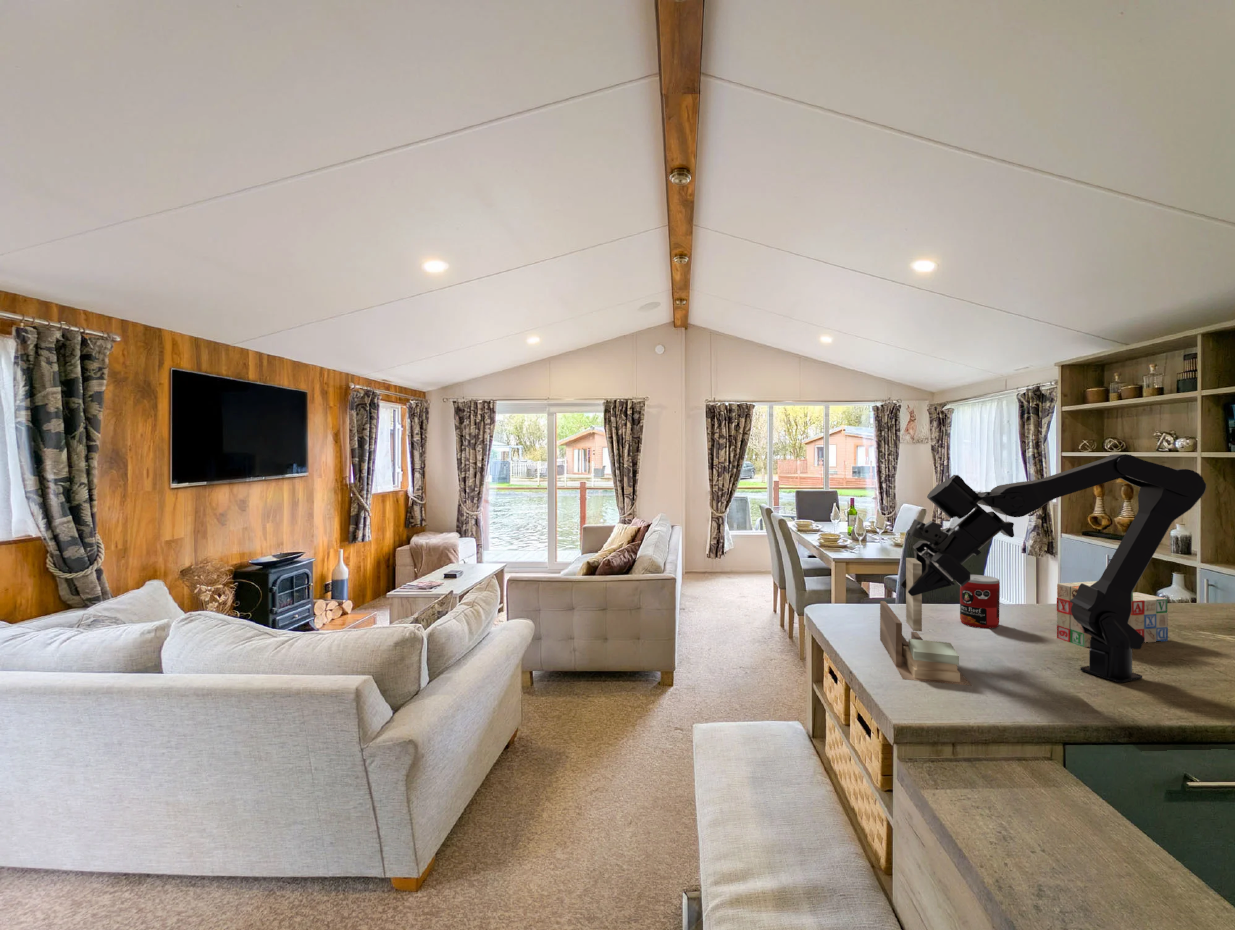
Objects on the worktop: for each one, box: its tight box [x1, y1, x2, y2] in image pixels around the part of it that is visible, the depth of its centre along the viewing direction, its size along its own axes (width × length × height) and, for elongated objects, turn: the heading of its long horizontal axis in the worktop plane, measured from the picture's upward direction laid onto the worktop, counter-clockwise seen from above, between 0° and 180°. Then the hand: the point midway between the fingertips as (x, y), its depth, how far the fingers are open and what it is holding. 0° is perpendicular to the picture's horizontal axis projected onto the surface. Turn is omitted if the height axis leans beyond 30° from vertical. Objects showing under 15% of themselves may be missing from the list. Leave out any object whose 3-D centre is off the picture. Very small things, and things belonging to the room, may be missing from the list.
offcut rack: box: [879, 600, 972, 687], centre depth 107 cm, size 10×22×10 cm, turn 165°
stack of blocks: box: [1056, 580, 1169, 648], centre depth 123 cm, size 21×6×12 cm, turn 100°
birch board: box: [905, 557, 923, 632], centre depth 112 cm, size 2×6×13 cm, turn 165°
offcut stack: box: [902, 638, 960, 682], centre depth 101 cm, size 8×8×4 cm
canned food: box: [959, 574, 1001, 629], centre depth 135 cm, size 8×8×11 cm
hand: (906, 590), depth 112 cm, fingers closed on birch board, 6 cm apart
